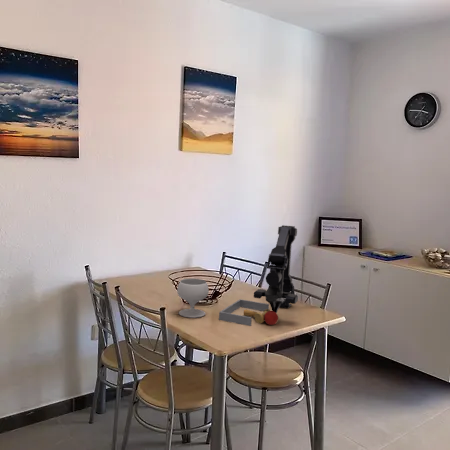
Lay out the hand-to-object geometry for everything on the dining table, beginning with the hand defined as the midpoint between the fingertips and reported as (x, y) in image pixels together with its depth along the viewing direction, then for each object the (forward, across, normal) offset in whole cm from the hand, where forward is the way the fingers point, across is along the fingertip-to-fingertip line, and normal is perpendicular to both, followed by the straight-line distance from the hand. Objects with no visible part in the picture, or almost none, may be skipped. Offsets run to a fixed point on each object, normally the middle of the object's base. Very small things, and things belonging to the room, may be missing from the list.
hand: (274, 315), depth 203 cm
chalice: (+3, -35, -11) cm, 37 cm away
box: (+2, -14, 0) cm, 14 cm away
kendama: (+3, -6, -3) cm, 7 cm away
